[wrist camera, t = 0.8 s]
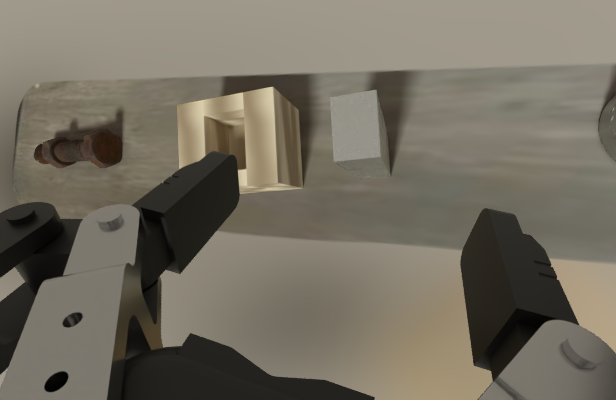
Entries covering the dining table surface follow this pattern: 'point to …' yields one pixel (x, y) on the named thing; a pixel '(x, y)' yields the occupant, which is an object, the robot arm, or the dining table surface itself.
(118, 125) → the dining table surface
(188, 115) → the open beige box
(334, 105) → the tall grey square pillar
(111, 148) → the bolt
